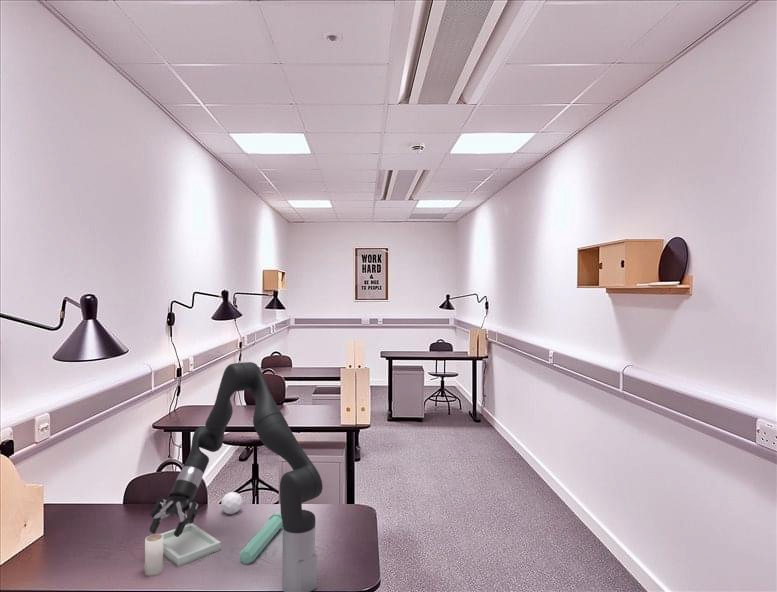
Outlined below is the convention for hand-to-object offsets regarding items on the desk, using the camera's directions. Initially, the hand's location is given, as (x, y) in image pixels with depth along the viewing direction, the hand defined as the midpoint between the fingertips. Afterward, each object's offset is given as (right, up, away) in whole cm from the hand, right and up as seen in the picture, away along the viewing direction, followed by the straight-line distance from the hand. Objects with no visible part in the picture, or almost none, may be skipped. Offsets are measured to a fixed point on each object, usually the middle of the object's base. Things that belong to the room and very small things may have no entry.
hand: (163, 534), depth 152 cm
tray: (+3, -9, +10) cm, 14 cm away
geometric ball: (+9, -10, +36) cm, 39 cm away
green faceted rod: (+27, -10, +12) cm, 31 cm away
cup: (-1, -9, -4) cm, 10 cm away
